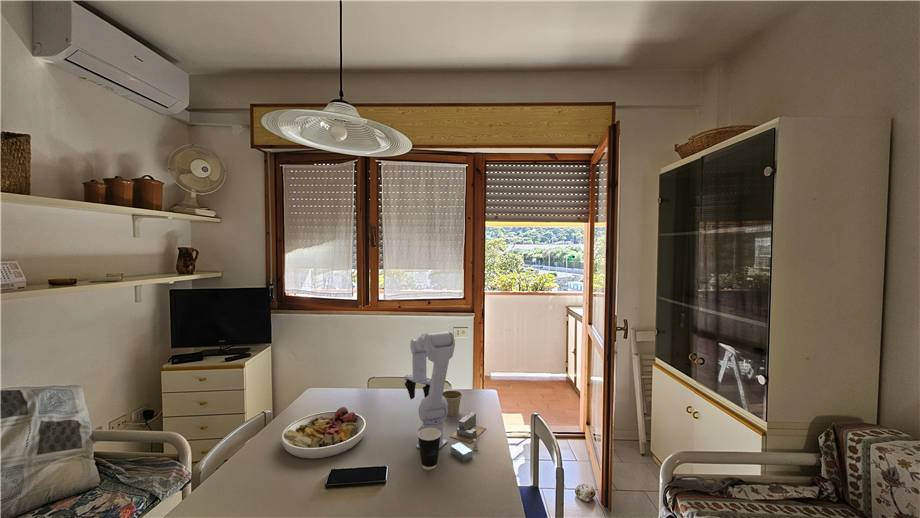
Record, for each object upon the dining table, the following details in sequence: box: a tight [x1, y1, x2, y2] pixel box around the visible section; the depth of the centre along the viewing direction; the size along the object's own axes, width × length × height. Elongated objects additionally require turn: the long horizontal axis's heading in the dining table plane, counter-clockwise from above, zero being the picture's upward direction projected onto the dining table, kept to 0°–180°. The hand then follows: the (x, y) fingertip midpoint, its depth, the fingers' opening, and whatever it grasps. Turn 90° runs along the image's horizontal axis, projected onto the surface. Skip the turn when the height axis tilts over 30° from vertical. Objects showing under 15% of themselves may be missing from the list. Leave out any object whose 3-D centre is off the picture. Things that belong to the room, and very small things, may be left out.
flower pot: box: [442, 389, 463, 417], centre depth 167 cm, size 9×9×9 cm
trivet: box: [449, 425, 487, 444], centre depth 150 cm, size 13×9×1 cm
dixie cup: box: [417, 428, 441, 471], centre depth 128 cm, size 8×8×11 cm
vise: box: [450, 438, 479, 462], centre depth 136 cm, size 9×7×4 cm
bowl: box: [281, 406, 367, 459], centre depth 145 cm, size 30×30×8 cm
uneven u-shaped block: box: [456, 411, 477, 440], centre depth 151 cm, size 11×7×5 cm, turn 149°
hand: (419, 400), depth 157 cm, fingers open, 7 cm apart
